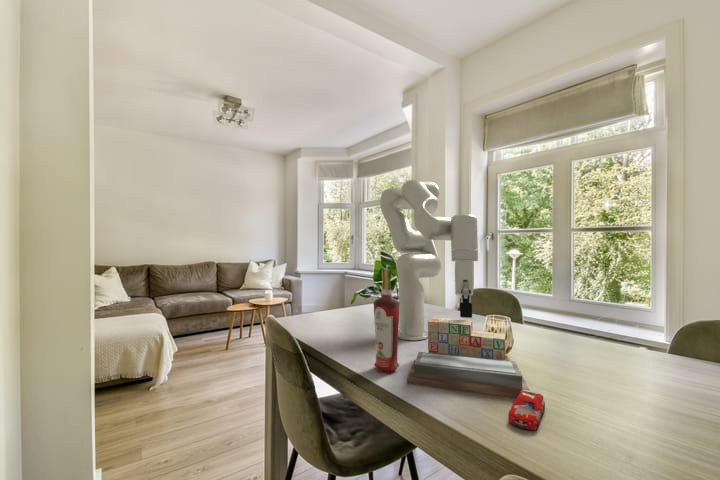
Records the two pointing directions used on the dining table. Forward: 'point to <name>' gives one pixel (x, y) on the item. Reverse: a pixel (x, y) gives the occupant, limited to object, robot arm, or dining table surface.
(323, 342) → the dining table surface
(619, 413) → the dining table surface
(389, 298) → the liquor
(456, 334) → the stack of blocks
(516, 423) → the race car
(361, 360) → the dining table surface
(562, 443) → the dining table surface
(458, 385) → the build plinth
